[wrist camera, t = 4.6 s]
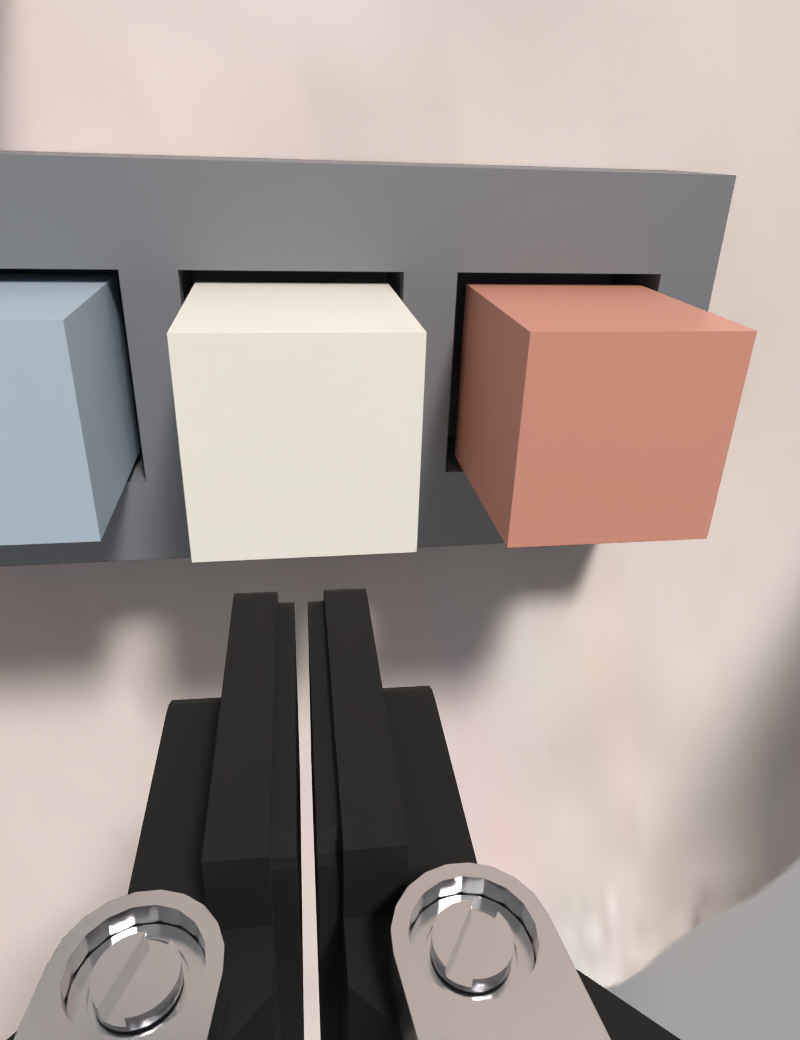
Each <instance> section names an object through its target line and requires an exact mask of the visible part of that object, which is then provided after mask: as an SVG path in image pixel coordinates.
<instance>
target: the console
mask: <svg viewBox="0 0 800 1040" xmlns="http://www.w3.org/2000/svg"><path fill="white" fill-rule="evenodd" d="M735 179H736V175H723V174H710V173H697V172H684V171H669V170H635V169H602V168H568V167H535V166H501V165H468V164H434V163H401V162H367V161H334V160H300V159H267V158H233V157H200V156H166V155H133V154H99V153H66V152H32V151H0V273H46V274H117V276H118V283H119V291H120V298H121V306H122V313H123V320H124V328H125V335H126V343H127V350H128V358H129V365H130V373H131V380H132V388H133V395H134V403H135V410H136V418H137V425H138V432H139V440H140V447H141V450H140V452H139V454H138V456H137V459H136V461H135V463H134V466H133V468H132V470H131V473H130V475H129V477H128V479H127V482H126V484H125V486H124V489H123V491H122V493H121V496H120V498H119V500H118V502H117V505H116V507H115V509H114V512H113V514H112V516H111V519H110V521H109V523H108V525H107V528H106V530H105V532H104V535H103V537H102V539H101V541H95V542H71V543H47V544H23V545H0V566H17V565H39V564H61V563H83V562H104V561H126V560H148V559H170V558H191V550H190V541H189V532H188V523H187V514H186V504H185V495H184V486H183V477H182V468H181V459H180V449H179V440H178V431H177V422H176V413H175V404H174V394H173V385H172V376H171V367H170V358H169V349H168V339H167V332H168V330H169V328H170V327H171V325H172V323H173V321H174V319H175V318H176V316H177V314H178V312H179V311H180V309H181V307H182V305H183V303H184V302H185V300H186V298H187V296H188V294H189V293H190V291H191V289H192V287H193V286H194V284H195V282H283V283H388V284H389V285H390V286H391V288H392V289H393V290H394V292H395V293H396V294H397V295H398V297H399V298H400V299H401V300H402V302H403V303H404V304H405V306H406V307H407V308H408V309H409V311H410V312H411V313H412V314H413V316H414V317H415V318H416V319H417V321H418V322H419V323H420V325H421V326H422V327H423V328H424V330H425V331H426V332H427V335H426V357H425V379H424V401H423V423H422V445H421V467H420V489H419V511H418V533H417V547H433V546H455V545H477V544H499V543H504V541H503V539H502V538H501V536H500V534H499V532H498V531H497V529H496V527H495V525H494V524H493V522H492V520H491V518H490V517H489V515H488V513H487V511H486V510H485V508H484V506H483V504H482V503H481V501H480V499H479V497H478V496H477V494H476V492H475V490H474V489H473V487H472V485H471V483H470V482H469V480H468V478H467V476H466V475H465V473H464V471H463V469H462V467H461V466H460V464H459V462H458V460H457V459H456V457H455V442H456V427H457V412H458V397H459V382H460V367H461V352H462V337H463V322H464V307H465V292H466V284H605V285H642V286H644V287H647V288H649V289H652V290H654V291H657V292H659V293H662V294H664V295H667V296H669V297H672V298H674V299H677V300H679V301H682V302H685V303H687V304H690V305H692V306H695V307H697V308H700V309H702V310H705V311H707V312H708V308H709V303H710V298H711V294H712V289H713V284H714V279H715V275H716V270H717V265H718V260H719V256H720V251H721V246H722V241H723V236H724V232H725V227H726V222H727V217H728V213H729V208H730V203H731V198H732V194H733V189H734V184H735Z"/></svg>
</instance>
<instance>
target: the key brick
mask: <svg viewBox="0 0 800 1040" xmlns="http://www.w3.org/2000/svg"><path fill="white" fill-rule="evenodd" d="M756 333H757V331H755V330H753V329H750V328H748V327H745V326H742V325H740V324H737V323H735V322H732V321H730V320H727V319H725V318H722V317H720V316H717V315H715V314H712V313H710V312H707V311H705V310H702V309H700V308H697V307H695V306H692V305H690V304H687V303H685V302H682V301H679V300H677V299H674V298H672V297H669V296H667V295H664V294H662V293H659V292H657V291H654V290H652V289H649V288H647V287H644V286H642V285H605V284H466V292H465V307H464V322H463V337H462V352H461V367H460V382H459V397H458V412H457V427H456V442H455V457H456V459H457V460H458V462H459V464H460V466H461V467H462V469H463V471H464V473H465V475H466V476H467V478H468V480H469V482H470V483H471V485H472V487H473V489H474V490H475V492H476V494H477V496H478V497H479V499H480V501H481V503H482V504H483V506H484V508H485V510H486V511H487V513H488V515H489V517H490V518H491V520H492V522H493V524H494V525H495V527H496V529H497V531H498V532H499V534H500V536H501V538H502V539H503V541H504V543H505V545H506V546H507V548H514V547H536V546H557V545H579V544H600V543H622V542H643V541H665V540H686V539H707V535H708V531H709V527H710V523H711V519H712V514H713V510H714V506H715V502H716V498H717V494H718V490H719V486H720V481H721V477H722V473H723V469H724V465H725V461H726V457H727V452H728V448H729V444H730V440H731V436H732V432H733V428H734V424H735V419H736V415H737V411H738V407H739V403H740V399H741V395H742V390H743V386H744V382H745V378H746V374H747V370H748V366H749V362H750V357H751V353H752V349H753V345H754V341H755V337H756Z"/></svg>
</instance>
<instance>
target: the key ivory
mask: <svg viewBox="0 0 800 1040" xmlns="http://www.w3.org/2000/svg"><path fill="white" fill-rule="evenodd" d="M426 335H427V332H426V331H425V330H424V328H423V327H422V326H421V325H420V323H419V322H418V321H417V319H416V318H415V317H414V316H413V314H412V313H411V312H410V311H409V309H408V308H407V307H406V306H405V304H404V303H403V302H402V300H401V299H400V298H399V297H398V295H397V294H396V293H395V292H394V290H393V289H392V288H391V286H390V285H389V284H388V283H283V282H195V284H194V286H193V287H192V289H191V291H190V293H189V294H188V296H187V298H186V300H185V302H184V303H183V305H182V307H181V309H180V311H179V312H178V314H177V316H176V318H175V319H174V321H173V323H172V325H171V327H170V328H169V330H168V332H167V339H168V349H169V358H170V367H171V376H172V385H173V394H174V404H175V413H176V422H177V431H178V440H179V449H180V459H181V468H182V477H183V486H184V495H185V504H186V514H187V523H188V532H189V541H190V550H191V559H192V562H213V561H235V560H256V559H278V558H299V557H321V556H342V555H364V554H385V553H407V552H417V533H418V511H419V489H420V467H421V445H422V423H423V401H424V379H425V357H426Z"/></svg>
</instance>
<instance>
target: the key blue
mask: <svg viewBox="0 0 800 1040" xmlns="http://www.w3.org/2000/svg"><path fill="white" fill-rule="evenodd" d="M140 450H141V447H140V440H139V432H138V425H137V418H136V410H135V403H134V395H133V388H132V380H131V373H130V365H129V358H128V350H127V343H126V335H125V328H124V320H123V313H122V306H121V298H120V291H119V283H118V276H117V274H46V273H0V545H23V544H47V543H71V542H95V541H101V539H102V537H103V535H104V532H105V530H106V528H107V525H108V523H109V521H110V519H111V516H112V514H113V512H114V509H115V507H116V505H117V502H118V500H119V498H120V496H121V493H122V491H123V489H124V486H125V484H126V482H127V479H128V477H129V475H130V473H131V470H132V468H133V466H134V463H135V461H136V459H137V456H138V454H139V452H140Z"/></svg>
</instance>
